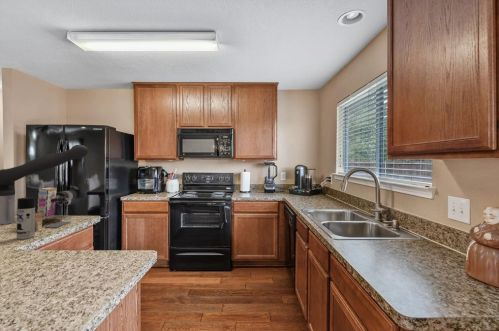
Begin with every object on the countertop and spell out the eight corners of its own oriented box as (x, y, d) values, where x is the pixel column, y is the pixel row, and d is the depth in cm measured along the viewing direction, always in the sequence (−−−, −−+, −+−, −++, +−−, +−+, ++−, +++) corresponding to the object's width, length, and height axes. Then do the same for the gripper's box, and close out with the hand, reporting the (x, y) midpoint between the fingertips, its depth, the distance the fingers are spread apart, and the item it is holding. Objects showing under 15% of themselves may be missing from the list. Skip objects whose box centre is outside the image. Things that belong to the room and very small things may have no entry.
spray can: (13, 239, 121) (13, 198, 121) (28, 235, 128) (28, 196, 128) (23, 240, 120) (23, 199, 120) (38, 236, 126) (38, 197, 126)
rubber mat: (44, 228, 142) (44, 227, 142) (59, 222, 155) (59, 221, 155) (57, 227, 143) (57, 226, 143) (70, 222, 156) (70, 221, 156)
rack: (17, 232, 133) (17, 224, 133) (45, 222, 155) (46, 215, 155) (35, 231, 134) (35, 224, 134) (61, 222, 157) (61, 215, 157)
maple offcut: (27, 230, 136) (27, 222, 136) (32, 228, 141) (32, 220, 141) (37, 230, 137) (37, 222, 137) (41, 228, 142) (42, 220, 142)
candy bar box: (46, 217, 143) (48, 189, 143) (36, 217, 142) (37, 189, 142) (55, 213, 154) (57, 187, 154) (46, 213, 153) (47, 187, 153)
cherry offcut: (27, 222, 137) (27, 214, 137) (34, 220, 141) (34, 212, 141) (35, 222, 137) (35, 214, 137) (42, 220, 141) (42, 212, 141)
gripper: (51, 191, 163) (32, 194, 146) (75, 191, 165) (59, 194, 148) (51, 202, 163) (32, 206, 146) (74, 202, 165) (58, 207, 148)
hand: (46, 200), depth 147 cm, fingers closed on candy bar box, 5 cm apart
